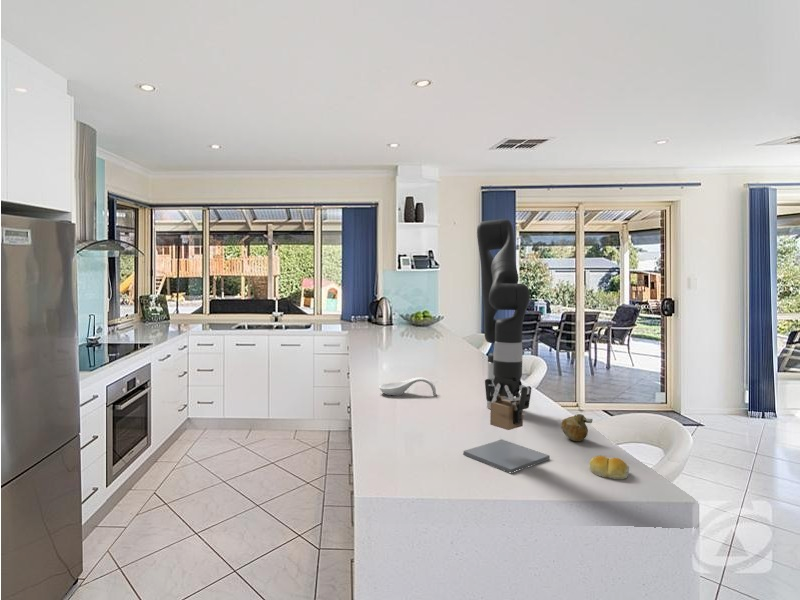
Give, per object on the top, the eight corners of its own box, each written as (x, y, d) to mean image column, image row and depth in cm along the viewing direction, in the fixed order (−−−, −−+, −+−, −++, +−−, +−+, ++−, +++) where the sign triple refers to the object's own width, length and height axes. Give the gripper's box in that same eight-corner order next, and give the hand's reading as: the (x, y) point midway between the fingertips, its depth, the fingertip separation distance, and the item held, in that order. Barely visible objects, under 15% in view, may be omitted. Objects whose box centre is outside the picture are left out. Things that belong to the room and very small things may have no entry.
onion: (575, 434, 149) (575, 408, 148) (594, 442, 141) (595, 415, 141) (555, 436, 146) (555, 410, 146) (573, 445, 138) (574, 417, 138)
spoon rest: (377, 397, 194) (377, 379, 193) (380, 390, 205) (380, 374, 205) (436, 398, 193) (436, 381, 192) (435, 392, 204) (435, 375, 204)
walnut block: (504, 420, 132) (505, 399, 132) (522, 426, 128) (523, 403, 127) (490, 424, 129) (490, 402, 128) (508, 430, 124) (508, 407, 124)
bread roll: (592, 464, 124) (592, 449, 124) (630, 472, 120) (630, 456, 119) (585, 475, 117) (585, 458, 117) (625, 483, 113) (626, 466, 112)
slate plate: (501, 442, 140) (502, 439, 140) (549, 459, 127) (549, 455, 127) (463, 454, 130) (463, 450, 130) (510, 473, 117) (510, 469, 117)
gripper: (539, 360, 124) (537, 425, 125) (496, 354, 135) (494, 413, 136) (521, 363, 119) (519, 430, 120) (477, 356, 131) (476, 417, 131)
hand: (506, 420), depth 128 cm, fingers closed on walnut block, 6 cm apart
